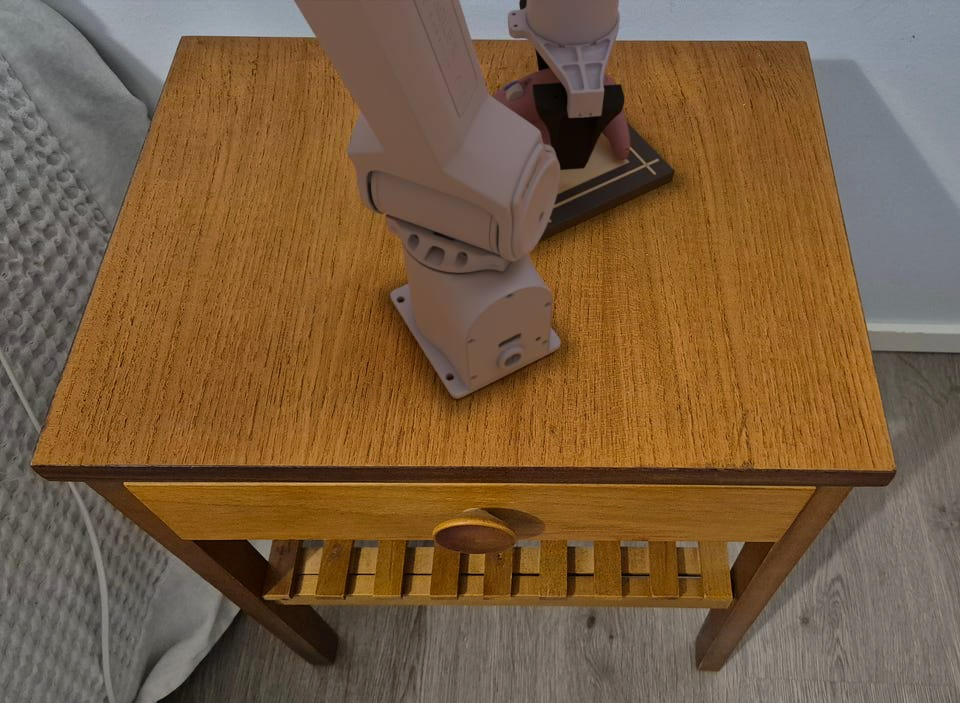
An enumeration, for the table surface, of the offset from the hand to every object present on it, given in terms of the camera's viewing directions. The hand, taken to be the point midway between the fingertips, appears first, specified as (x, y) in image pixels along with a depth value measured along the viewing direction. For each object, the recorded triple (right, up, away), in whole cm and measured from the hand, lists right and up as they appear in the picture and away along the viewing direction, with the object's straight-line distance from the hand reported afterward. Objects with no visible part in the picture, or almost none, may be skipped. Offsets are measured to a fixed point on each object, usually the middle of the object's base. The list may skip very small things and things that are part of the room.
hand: (563, 128), depth 59 cm
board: (0, -2, +3) cm, 3 cm away
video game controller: (0, -1, +2) cm, 2 cm away
